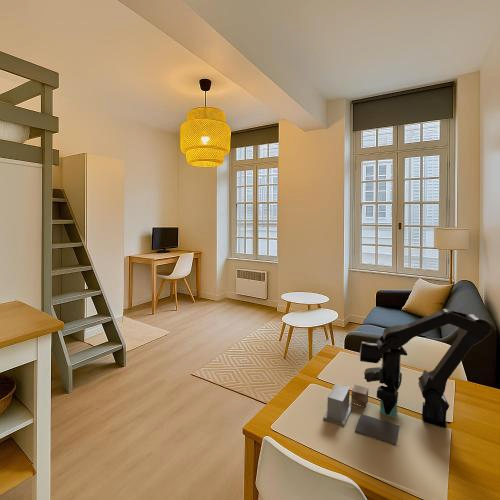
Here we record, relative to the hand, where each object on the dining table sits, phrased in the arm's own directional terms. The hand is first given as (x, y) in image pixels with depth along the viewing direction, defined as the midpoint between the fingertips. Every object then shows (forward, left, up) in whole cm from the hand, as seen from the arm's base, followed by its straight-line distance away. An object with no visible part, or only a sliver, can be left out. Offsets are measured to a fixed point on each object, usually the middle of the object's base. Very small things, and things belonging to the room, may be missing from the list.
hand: (388, 407), depth 111 cm
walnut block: (+10, -1, -2) cm, 10 cm away
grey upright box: (+15, +10, -2) cm, 18 cm away
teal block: (0, 0, -2) cm, 2 cm away
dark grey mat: (+2, +12, -2) cm, 12 cm away
